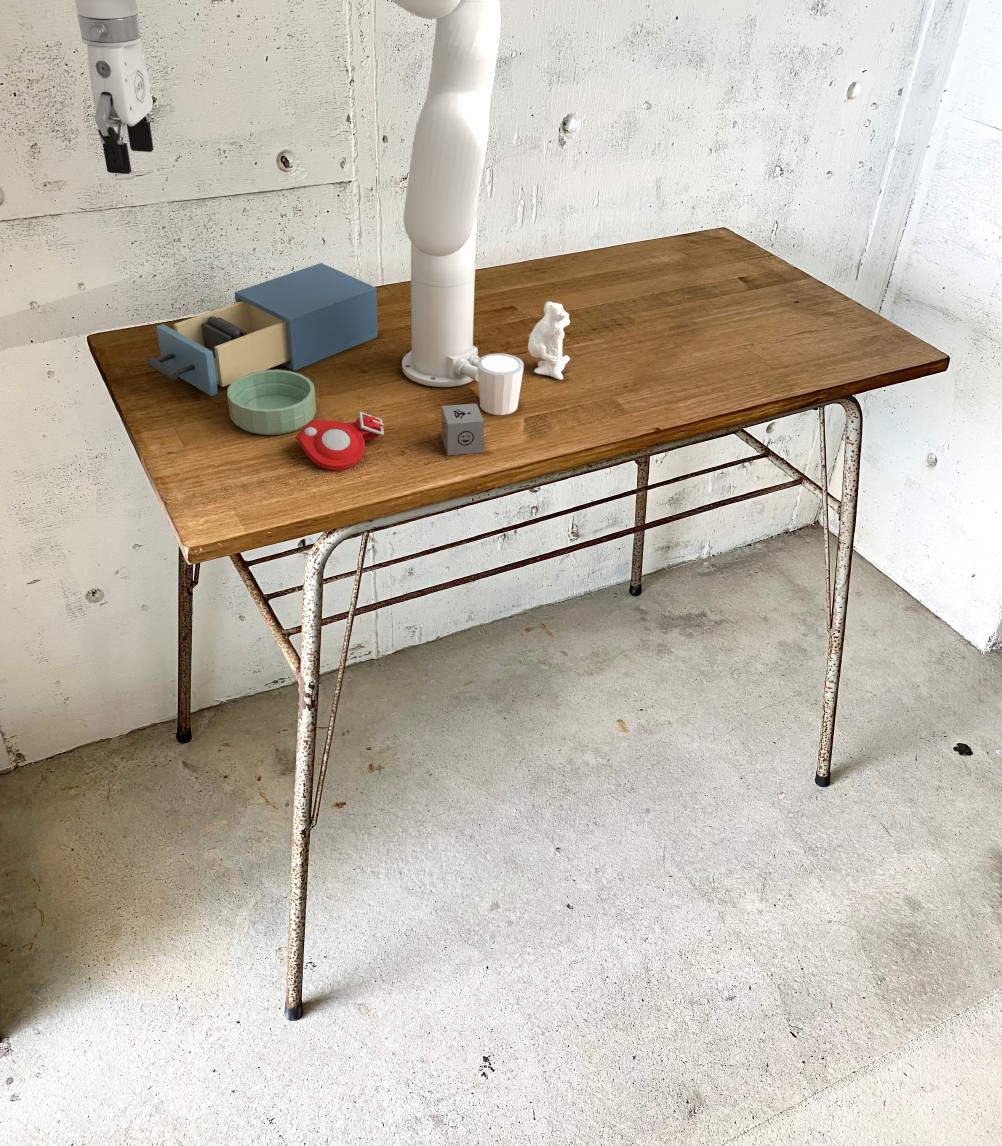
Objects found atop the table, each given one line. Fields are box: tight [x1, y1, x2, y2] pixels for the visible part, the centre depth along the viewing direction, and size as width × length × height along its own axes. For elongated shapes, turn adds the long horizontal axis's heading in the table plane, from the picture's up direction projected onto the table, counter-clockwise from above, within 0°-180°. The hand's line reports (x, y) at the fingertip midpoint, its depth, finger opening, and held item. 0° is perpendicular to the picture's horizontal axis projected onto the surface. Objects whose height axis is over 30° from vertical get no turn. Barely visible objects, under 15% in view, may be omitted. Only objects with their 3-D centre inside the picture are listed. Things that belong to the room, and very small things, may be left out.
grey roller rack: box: [201, 316, 247, 358], centre depth 167 cm, size 7×3×6 cm, turn 48°
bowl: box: [226, 369, 317, 436], centre depth 158 cm, size 12×12×4 cm
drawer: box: [146, 300, 290, 397], centre depth 166 cm, size 21×12×7 cm, turn 138°
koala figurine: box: [527, 301, 571, 381], centre depth 170 cm, size 8×7×12 cm
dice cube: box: [440, 403, 485, 456], centre depth 153 cm, size 5×5×5 cm
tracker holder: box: [295, 411, 385, 471], centre depth 152 cm, size 12×4×10 cm
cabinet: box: [234, 262, 379, 372], centre depth 176 cm, size 18×14×9 cm
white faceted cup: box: [477, 352, 525, 416], centre depth 162 cm, size 7×7×7 cm
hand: (131, 161), depth 154 cm, fingers open, 9 cm apart
